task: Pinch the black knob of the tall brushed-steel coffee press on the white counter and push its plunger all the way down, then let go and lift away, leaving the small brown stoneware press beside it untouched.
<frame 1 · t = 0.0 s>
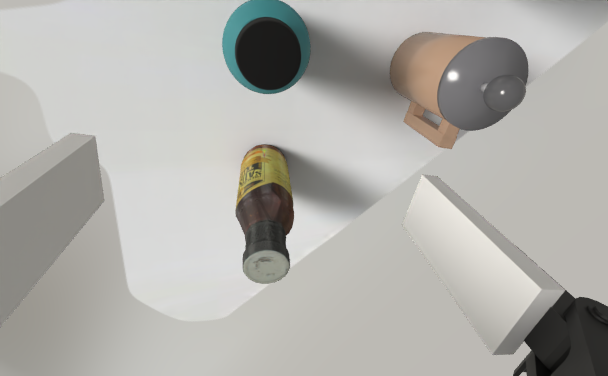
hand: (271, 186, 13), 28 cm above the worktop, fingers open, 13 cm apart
stoneware press: (420, 67, 39), on the worktop
sauce bottle: (263, 163, 43), on the worktop
beverage bottle: (263, 35, 35), on the worktop
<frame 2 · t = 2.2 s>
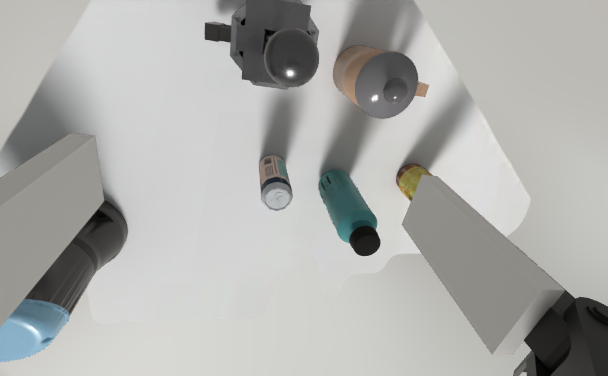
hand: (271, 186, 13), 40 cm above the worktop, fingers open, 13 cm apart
steel carafe: (267, 36, 46), on the worktop
stoneware press: (356, 72, 50), on the worktop
sauce bottle: (409, 176, 62), on the worktop
plunger: (280, 48, 27), point 21 cm above the worktop, slide at 0.0 cm
beer can: (271, 165, 56), on the worktop
beverage bottle: (332, 179, 59), on the worktop
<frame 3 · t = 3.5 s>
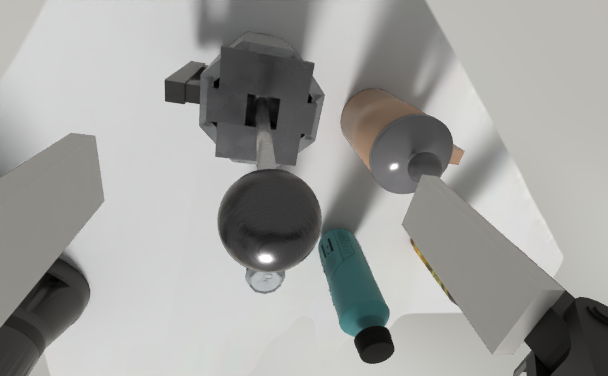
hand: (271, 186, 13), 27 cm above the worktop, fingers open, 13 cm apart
steel carafe: (259, 76, 36), on the worktop
stoneware press: (369, 119, 41), on the worktop
plunger: (264, 139, 18), point 21 cm above the worktop, slide at 0.0 cm
beer can: (263, 222, 47), on the worktop
beverage bottle: (335, 237, 50), on the worktop
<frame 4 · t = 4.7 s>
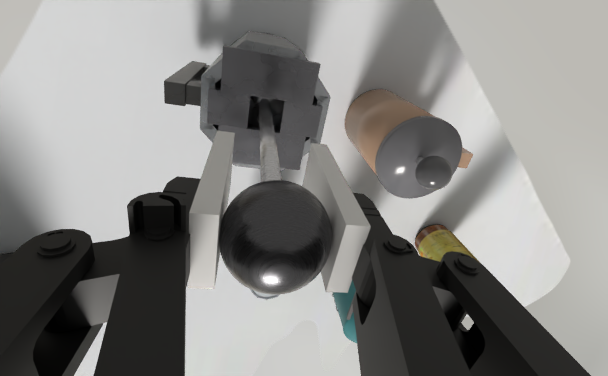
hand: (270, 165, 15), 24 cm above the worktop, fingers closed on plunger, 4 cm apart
steel carafe: (262, 77, 35), on the worktop
stoneware press: (374, 120, 40), on the worktop
sauce bottle: (431, 237, 52), on the worktop
plunger: (268, 144, 17), point 21 cm above the worktop, slide at 0.0 cm, touching gripper
beverage bottle: (338, 240, 49), on the worktop
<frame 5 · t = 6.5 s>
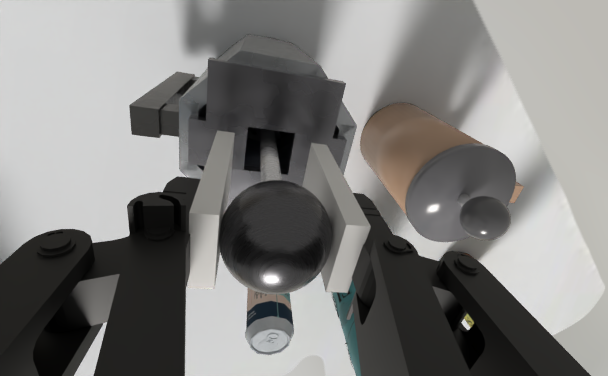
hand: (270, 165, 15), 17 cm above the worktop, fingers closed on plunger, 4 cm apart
steel carafe: (263, 89, 29), on the worktop
stoneware press: (395, 139, 34), on the worktop
plunger: (268, 144, 17), point 15 cm above the worktop, slide at 6.9 cm, touching gripper
beer can: (266, 256, 40), on the worktop
beverage bottle: (349, 271, 43), on the worktop
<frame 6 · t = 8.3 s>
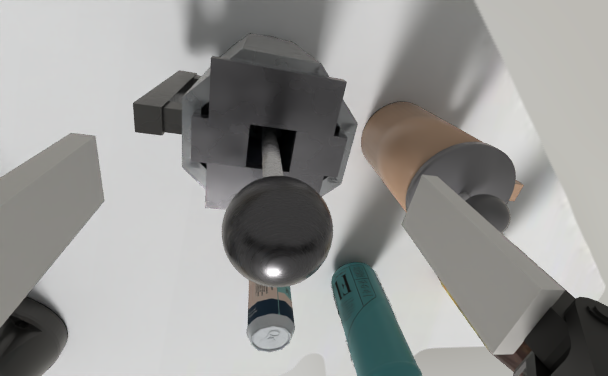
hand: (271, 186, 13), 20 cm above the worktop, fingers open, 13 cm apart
steel carafe: (264, 88, 30), on the worktop
stoneware press: (396, 137, 34), on the worktop
sauce bottle: (453, 264, 46), on the worktop
plunger: (269, 142, 17), point 15 cm above the worktop, slide at 6.9 cm
beer can: (267, 254, 40), on the worktop
beverage bottle: (349, 269, 43), on the worktop
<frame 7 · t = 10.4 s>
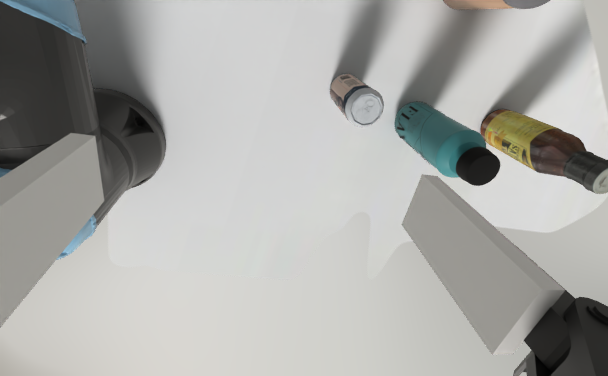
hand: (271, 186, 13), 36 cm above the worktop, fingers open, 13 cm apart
sauce bottle: (495, 125, 53), on the worktop
beer can: (344, 89, 47), on the worktop
beverage bottle: (408, 117, 51), on the worktop
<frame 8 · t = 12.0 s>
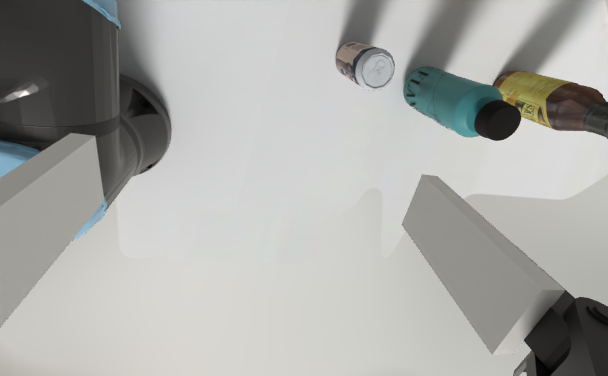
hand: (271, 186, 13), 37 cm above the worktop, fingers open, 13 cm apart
sauce bottle: (506, 89, 52), on the worktop
beer can: (350, 58, 46), on the worktop
beverage bottle: (417, 85, 49), on the worktop
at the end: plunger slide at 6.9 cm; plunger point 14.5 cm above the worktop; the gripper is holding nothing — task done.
